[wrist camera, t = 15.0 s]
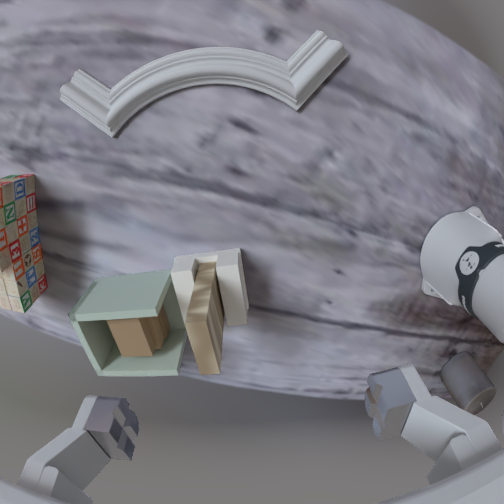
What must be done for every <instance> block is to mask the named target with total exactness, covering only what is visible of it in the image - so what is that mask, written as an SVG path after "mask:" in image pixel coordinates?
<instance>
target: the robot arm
mask: <svg viewBox="0 0 504 504" xmlns="http://www.w3.org/2000/svg"><path fill="white" fill-rule="evenodd" d="M420 263H421V270H422V274H423V280H422V291H423V292H424V293H425V294H427V295H430V296H434V297H438V298H441V299H444V300H445V301H446V302H447V303H448V304H449V305H456V306H462V307H464V308H465V310H466V311H467V312H468V313H469V314H471V315H472V316H473V317H475V318H476V319H480V320H481V321H482V322H483V324H484V325H485V326H486V327H487V328H488V329H489V330H490V331H491V332H492V333H493V334H494V335H495V337H496V338H497V339H498V340H499V341H500V342H502V343H503V344H504V240H503V239H502V236H501V234H500V233H498V231H497V230H496V229H495V228H493V227H492V226H490V225H489V224H488V223H487V221H486V219H485V217H484V216H483V214H482V212H481V211H480V209H479V208H477V207H476V206H473V207H471V208H469V209H467V210H466V211H464V212H455V213H451V214H448V215H446V216H444V217H443V218H442V219H440V220H439V221H438V222H437V223H436V224H435V225H434V226H433V227H432V229H431V230H430V232H429V233H428V235H427V237H426V239H425V241H424V244H423V247H422V251H421V258H420ZM431 289H432V290H431ZM367 382H368V385H369V388H368V389H367V390H366V392H365V405H366V409H367V412H368V415H369V416H370V417H371V418H373V419H374V421H373V425H372V426H373V429H374V432H375V435H376V437H377V440H381V439H385V438H389V437H393V436H397V435H400V434H401V436H402V437H403V438H405V439H406V440H407V441H408V442H410V443H411V444H412V445H414V446H415V447H416V448H418V449H419V450H420V451H422V452H423V453H424V454H426V455H427V456H428V457H430V458H431V459H432V460H434V461H435V462H436V463H435V465H434V466H433V468H432V469H431V471H430V472H429V474H428V475H427V479H428V481H429V484H430V485H428V486H425V487H423V488H420V489H418V490H415V491H412V492H409V493H407V494H404V495H401V496H398V497H395V498H392V499H389V500H385V501H382V502H379V503H375V504H504V448H503V449H502V447H501V445H500V443H499V442H498V440H497V438H496V437H495V435H494V433H493V431H492V430H491V428H490V426H489V425H488V423H487V422H486V421H484V420H482V419H480V418H478V417H476V416H474V415H472V414H470V413H468V412H467V411H465V410H463V409H461V408H459V407H457V406H455V405H453V404H451V403H449V402H447V401H445V400H443V399H441V398H439V397H437V396H436V395H435V396H431V395H430V393H429V391H428V389H427V388H426V386H425V384H424V382H423V381H422V379H421V377H420V376H419V374H418V372H417V371H416V369H415V367H414V366H413V365H412V364H408V365H404V366H400V367H397V368H392V369H388V370H384V371H380V372H376V373H372V374H370V375H369V376H368V381H367ZM129 405H130V404H129V403H128V401H127V399H126V398H116V397H102V396H91V395H88V396H87V397H85V399H84V401H83V403H82V405H81V408H80V410H79V412H78V415H77V417H76V419H75V421H74V424H73V426H72V428H68V429H66V430H65V431H64V432H62V433H61V434H60V435H59V436H57V437H56V438H55V439H53V440H52V441H51V442H49V443H48V444H47V445H45V446H44V447H43V448H41V449H40V450H39V451H37V452H36V453H35V454H33V455H32V456H31V457H30V458H28V460H27V462H26V464H25V467H24V469H23V472H22V474H21V476H20V479H19V481H18V484H15V483H13V482H11V481H8V480H6V479H4V478H2V477H0V504H92V503H93V500H92V499H91V497H89V496H88V495H87V494H86V493H84V492H83V490H84V489H85V488H86V487H87V485H88V484H89V483H90V482H91V481H92V480H93V479H94V478H95V477H96V476H97V474H99V473H100V471H101V470H102V469H103V468H104V467H105V466H106V465H107V464H108V463H109V461H110V460H111V459H118V460H130V461H131V460H132V456H133V452H134V448H135V445H134V443H133V440H134V439H135V438H136V437H137V436H138V432H139V422H138V419H137V416H136V414H135V413H134V412H133V411H132V410H130V409H129ZM502 431H503V435H504V411H503V414H502Z"/></svg>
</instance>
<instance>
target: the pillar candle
mask: <svg viewBox="0 0 504 504" xmlns="http://www.w3.org/2000/svg"><path fill="white" fill-rule="evenodd" d="M440 377H441V381H442V382H443V383H444V385H445V386H446V388H447V389H448V391H449V393H450V394H451V396H452V397H453V399H454V400H455V402H456V404H457V405H458V407H459V408H461V409H463V410H465V411H467V412H468V413H470V414H472V415H476V414H477V413H479V412H480V411H482V410H483V409H484V408H485V407H486V406H487V405H488V404H489V403H490V402H491V401H492V400H493V398H494V397H495V394H496V388H495V386H494V385H493V384H492V382H491V381H490V380H489V378H488V377H487V375H486V374H485V373H484V372H483V370H482V369H481V368H480V366H479V365H478V364H477V362H476V361H475V360H474V359H473V357H472V356H471V355H470V354H469V353H468V352H460V353H458V354H456V355H454V356H453V357H452V358H451V359H450V360H449V361H448V362H447V363H446V364H445V365H444V366H443V368H442V370H441V373H440Z"/></svg>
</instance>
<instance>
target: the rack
mask: <svg viewBox="0 0 504 504" xmlns="http://www.w3.org/2000/svg"><path fill="white" fill-rule="evenodd" d="M171 270H172V269H169V270H161V271H152V272H144V273H136V274H128V275H119V276H111V277H103V278H96V279H95V280H94V281H93V283H92V284H91V285H90V286H89V288H88V289H87V290H86V292H85V293H84V294H83V295H82V297H81V298H80V299H79V301H78V302H77V303H76V304H75V306H74V307H73V308H72V310H71V311H70V312H69V314H68V316H69V318H70V321H71V323H72V325H73V327H74V329H75V331H76V334H77V336H78V338H79V340H80V342H81V344H82V346H83V348H84V350H85V352H86V354H87V356H88V358H89V359H90V361H91V363H92V365H93V367H94V369H95V371H96V372H97V374H98V376H170V375H171V376H172V375H179V372H180V367H181V363H182V358H183V353H184V349H185V344H186V339H187V335H188V334H187V330H186V327H185V324H184V320H183V317H182V314H181V310H180V307H179V303H178V299H177V296H176V292H175V288H174V285H173V281H172V277H171V273H170V272H171Z"/></svg>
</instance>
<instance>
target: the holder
mask: <svg viewBox="0 0 504 504" xmlns="http://www.w3.org/2000/svg"><path fill="white" fill-rule="evenodd" d="M215 261H216V272H217V277H218V282H219V287H220V292H221V297H222V302H223V306H224V311H225V316H226V321H227V326H237V325H246V324H248V321H247V309H249V302H248V296H247V290H246V283H245V277H244V270H243V264H242V257H241V251H240V248H237V249H229V250H222V251H214V252H206V253H199V254H191V255H183V256H176V257H175V259H174V265H173V267H172V270H171V272H170V273H171V277H172V281H173V285H174V288H175V292H176V296H177V299H178V303H179V307H180V310H181V314H182V317H183V320H184V323H185V319H186V315H187V311H188V307H189V303H190V299H191V295H192V291H193V288H194V284H195V280H196V276H197V273H198V269H199V265H200V263H207V262H215Z"/></svg>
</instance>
